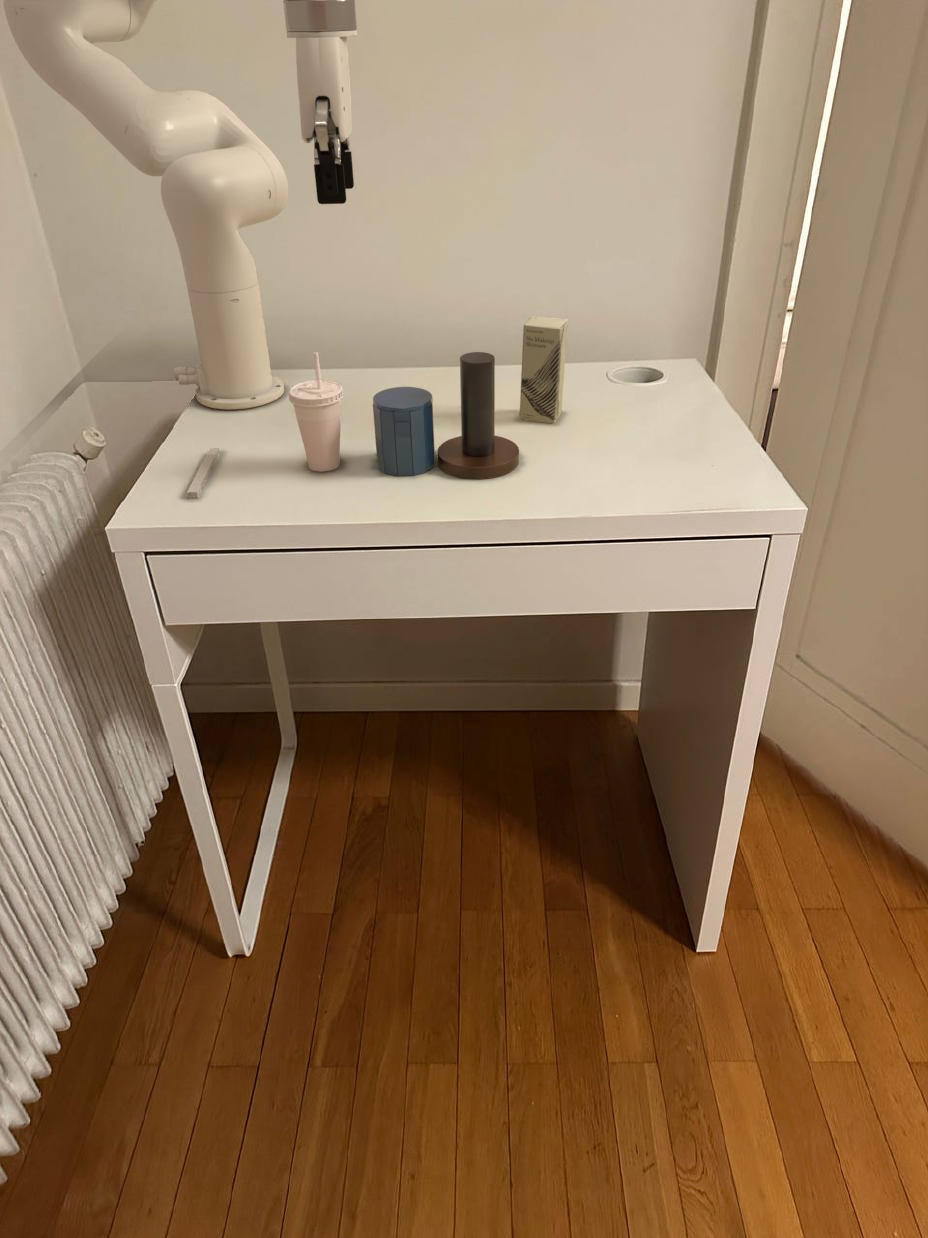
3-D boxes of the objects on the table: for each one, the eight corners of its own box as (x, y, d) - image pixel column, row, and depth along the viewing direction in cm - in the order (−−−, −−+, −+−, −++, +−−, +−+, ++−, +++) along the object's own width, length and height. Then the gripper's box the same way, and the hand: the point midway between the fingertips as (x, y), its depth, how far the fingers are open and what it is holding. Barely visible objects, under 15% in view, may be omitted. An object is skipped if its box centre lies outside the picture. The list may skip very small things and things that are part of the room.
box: (518, 420, 122) (520, 324, 114) (527, 408, 125) (529, 314, 118) (556, 424, 120) (560, 327, 113) (564, 412, 124) (569, 317, 116)
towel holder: (437, 480, 107) (433, 373, 100) (438, 445, 115) (434, 344, 108) (521, 478, 107) (523, 370, 100) (516, 444, 115) (517, 342, 108)
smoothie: (341, 478, 108) (328, 362, 100) (290, 474, 109) (274, 360, 101) (356, 455, 113) (346, 344, 105) (308, 452, 114) (294, 342, 106)
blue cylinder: (376, 476, 108) (370, 408, 103) (379, 452, 114) (374, 387, 109) (434, 475, 108) (431, 407, 103) (435, 451, 114) (432, 385, 109)
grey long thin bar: (198, 500, 104) (196, 492, 104) (188, 500, 104) (186, 492, 104) (220, 455, 115) (218, 447, 114) (211, 455, 115) (209, 447, 114)
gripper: (297, 19, 103) (313, 183, 113) (272, 22, 89) (294, 210, 99) (362, 18, 103) (373, 182, 113) (348, 21, 89) (362, 208, 99)
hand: (336, 195), depth 106 cm, fingers open, 9 cm apart
